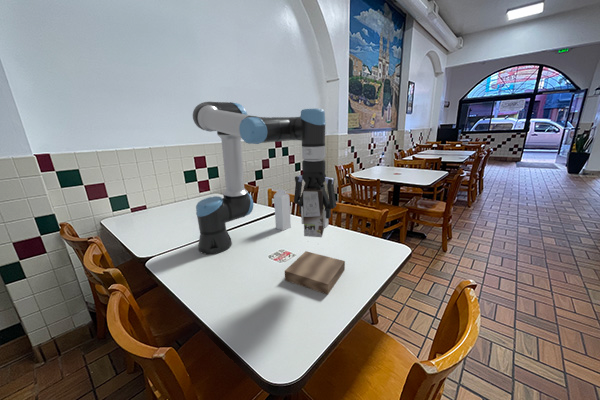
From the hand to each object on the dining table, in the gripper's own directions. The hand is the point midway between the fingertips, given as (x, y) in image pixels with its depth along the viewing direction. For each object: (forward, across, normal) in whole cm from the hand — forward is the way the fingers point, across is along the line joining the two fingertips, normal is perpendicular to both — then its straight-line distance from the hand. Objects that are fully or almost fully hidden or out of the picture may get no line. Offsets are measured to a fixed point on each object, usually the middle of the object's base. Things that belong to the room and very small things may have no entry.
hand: (314, 224), depth 85 cm
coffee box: (+3, 0, 0) cm, 3 cm away
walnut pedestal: (+21, 0, 0) cm, 21 cm away
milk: (+21, -36, +32) cm, 52 cm away
